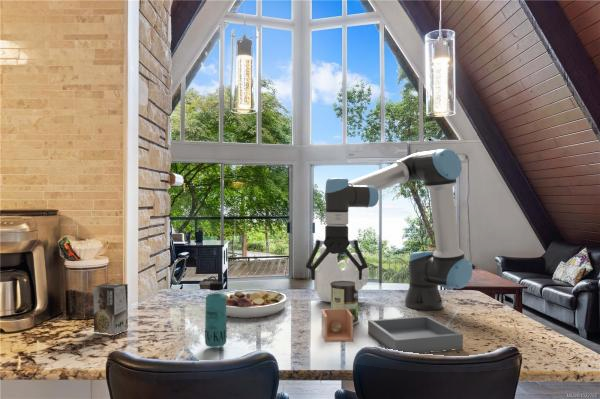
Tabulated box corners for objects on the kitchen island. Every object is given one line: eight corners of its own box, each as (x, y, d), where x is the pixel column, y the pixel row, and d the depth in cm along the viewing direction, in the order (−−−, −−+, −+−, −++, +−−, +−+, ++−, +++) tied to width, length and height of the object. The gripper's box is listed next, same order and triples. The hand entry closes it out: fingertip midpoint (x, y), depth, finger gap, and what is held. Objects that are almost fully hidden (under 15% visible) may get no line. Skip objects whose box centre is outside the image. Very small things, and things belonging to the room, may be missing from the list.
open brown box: (321, 332, 138) (321, 309, 138) (347, 332, 138) (347, 308, 138) (324, 341, 129) (324, 316, 129) (352, 341, 129) (352, 316, 129)
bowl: (221, 300, 182) (221, 282, 182) (288, 300, 181) (288, 283, 181) (203, 320, 152) (203, 299, 152) (283, 321, 151) (283, 299, 151)
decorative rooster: (316, 307, 170) (316, 247, 170) (312, 298, 185) (312, 243, 185) (375, 306, 171) (375, 247, 171) (367, 297, 187) (367, 243, 187)
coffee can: (359, 318, 154) (359, 281, 154) (357, 326, 144) (357, 286, 144) (332, 316, 156) (332, 279, 156) (328, 324, 146) (328, 285, 146)
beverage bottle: (206, 344, 125) (206, 280, 125) (228, 344, 126) (228, 279, 126) (203, 352, 119) (203, 284, 119) (226, 352, 120) (226, 284, 120)
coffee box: (128, 331, 139) (128, 283, 139) (114, 337, 132) (114, 287, 132) (107, 328, 142) (107, 282, 142) (92, 334, 135) (92, 285, 135)
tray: (427, 328, 141) (427, 315, 141) (462, 349, 122) (462, 334, 122) (368, 333, 136) (368, 320, 136) (395, 355, 117) (395, 340, 117)
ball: (339, 331, 137) (339, 320, 138) (343, 333, 134) (342, 321, 134) (329, 332, 136) (328, 321, 137) (332, 333, 133) (332, 322, 134)
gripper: (299, 225, 129) (299, 292, 129) (377, 226, 131) (376, 292, 130) (298, 224, 137) (297, 287, 136) (371, 224, 138) (371, 287, 138)
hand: (336, 289), depth 133 cm, fingers open, 13 cm apart
